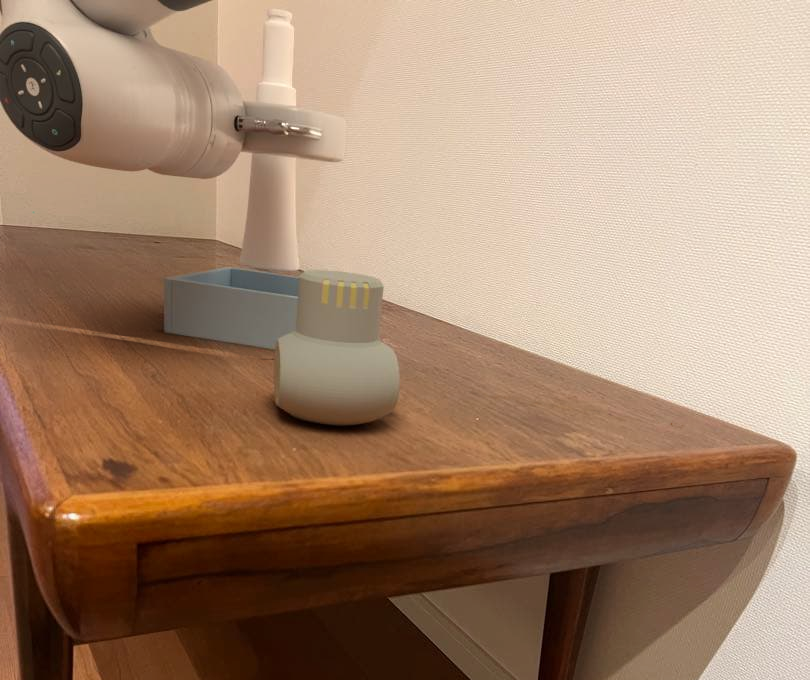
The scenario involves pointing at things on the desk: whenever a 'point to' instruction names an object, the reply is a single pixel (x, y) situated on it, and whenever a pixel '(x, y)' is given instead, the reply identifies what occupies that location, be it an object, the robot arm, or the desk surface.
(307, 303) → the air freshener
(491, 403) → the desk surface
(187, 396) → the desk surface
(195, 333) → the basket
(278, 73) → the cosmetic bottle
